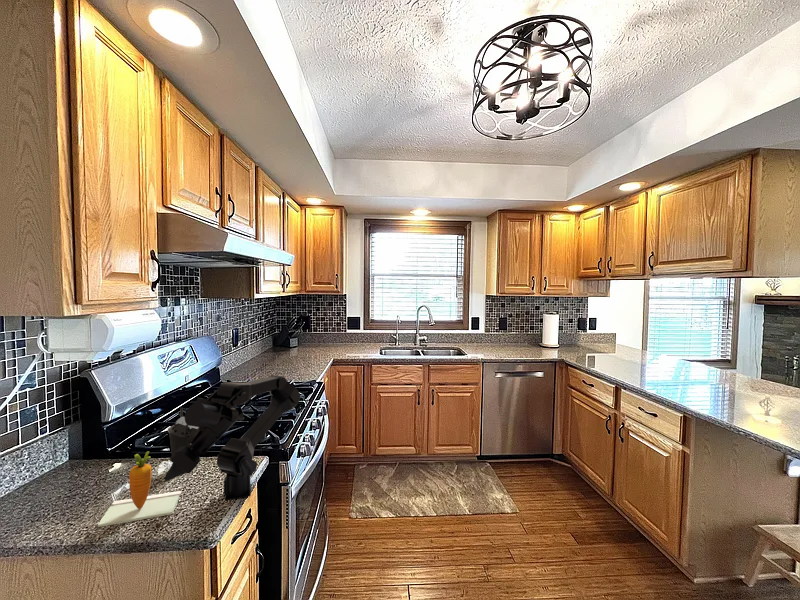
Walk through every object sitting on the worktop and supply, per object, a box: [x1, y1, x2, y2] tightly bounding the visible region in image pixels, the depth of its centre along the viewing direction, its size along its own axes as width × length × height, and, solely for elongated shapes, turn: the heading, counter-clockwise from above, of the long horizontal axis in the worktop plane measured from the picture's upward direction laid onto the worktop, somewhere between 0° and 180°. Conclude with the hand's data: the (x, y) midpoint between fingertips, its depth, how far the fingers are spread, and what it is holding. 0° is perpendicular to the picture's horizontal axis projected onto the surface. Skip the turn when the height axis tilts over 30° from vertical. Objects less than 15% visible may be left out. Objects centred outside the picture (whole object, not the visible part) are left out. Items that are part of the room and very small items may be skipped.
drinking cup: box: [167, 406, 191, 456], centre depth 119 cm, size 8×8×20 cm
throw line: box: [111, 490, 182, 506], centre depth 103 cm, size 16×2×1 cm, turn 110°
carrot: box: [128, 451, 153, 509], centre depth 97 cm, size 5×5×15 cm
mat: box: [97, 495, 180, 528], centre depth 97 cm, size 16×8×1 cm, turn 110°
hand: (173, 470), depth 99 cm, fingers open, 9 cm apart
